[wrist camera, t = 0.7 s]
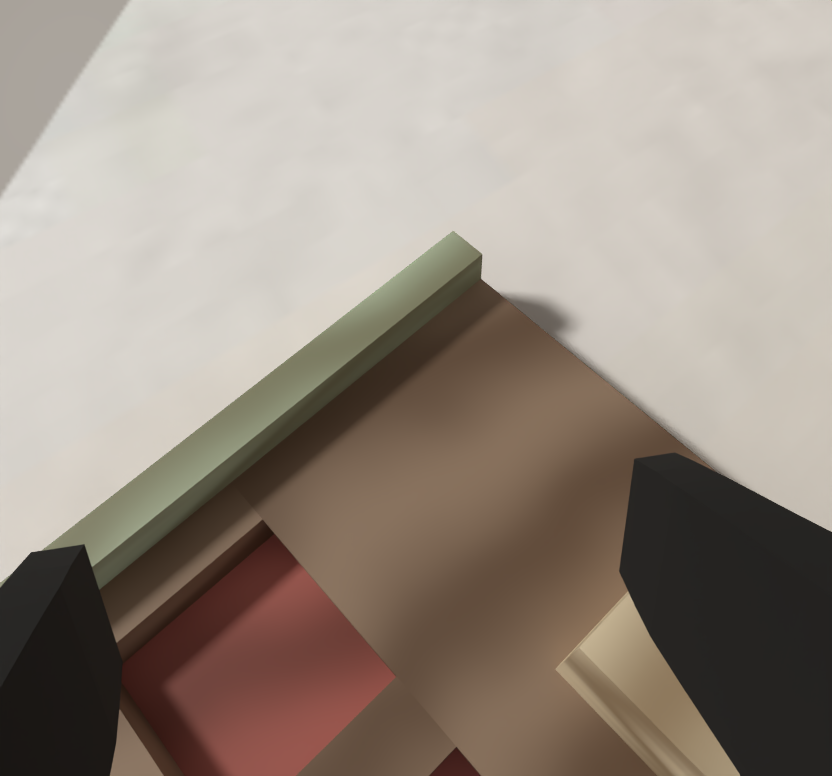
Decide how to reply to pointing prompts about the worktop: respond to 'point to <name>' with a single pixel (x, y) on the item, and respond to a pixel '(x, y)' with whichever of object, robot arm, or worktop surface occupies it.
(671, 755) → the maple block
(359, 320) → the trap deck
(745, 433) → the worktop surface
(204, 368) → the worktop surface
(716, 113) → the worktop surface
